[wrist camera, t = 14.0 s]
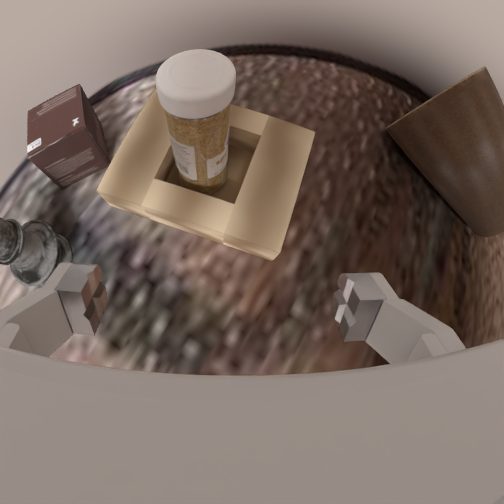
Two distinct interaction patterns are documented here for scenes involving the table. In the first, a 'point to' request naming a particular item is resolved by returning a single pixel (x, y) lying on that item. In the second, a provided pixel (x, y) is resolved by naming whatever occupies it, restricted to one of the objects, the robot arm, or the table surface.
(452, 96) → the plant pot
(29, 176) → the table surface
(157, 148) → the holder
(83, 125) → the box
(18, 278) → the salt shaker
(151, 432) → the robot arm
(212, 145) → the sprinkles bottle
